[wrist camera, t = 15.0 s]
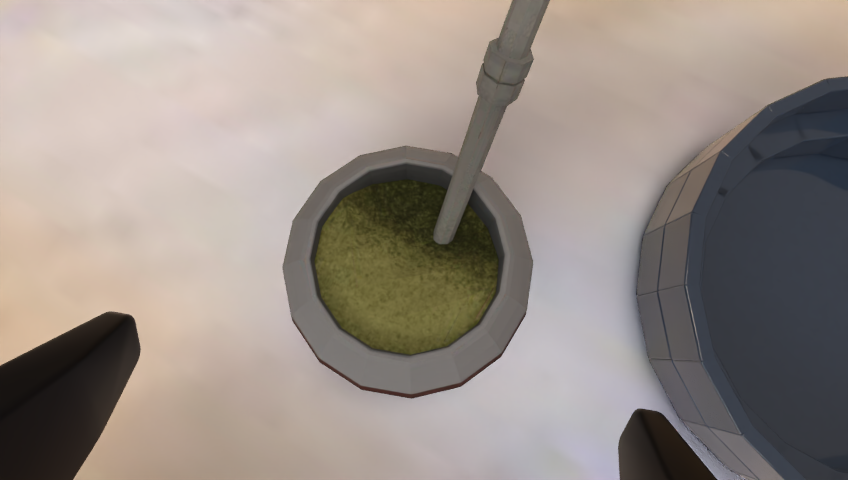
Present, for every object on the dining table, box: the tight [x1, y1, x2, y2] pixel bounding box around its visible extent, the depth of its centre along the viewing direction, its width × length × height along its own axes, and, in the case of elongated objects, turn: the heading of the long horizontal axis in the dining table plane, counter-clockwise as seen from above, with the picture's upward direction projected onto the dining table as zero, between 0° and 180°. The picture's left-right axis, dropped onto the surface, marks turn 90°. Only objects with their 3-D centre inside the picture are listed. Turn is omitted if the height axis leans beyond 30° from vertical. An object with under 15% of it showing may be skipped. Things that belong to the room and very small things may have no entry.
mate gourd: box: [283, 0, 550, 398], centre depth 14 cm, size 8×8×15 cm
